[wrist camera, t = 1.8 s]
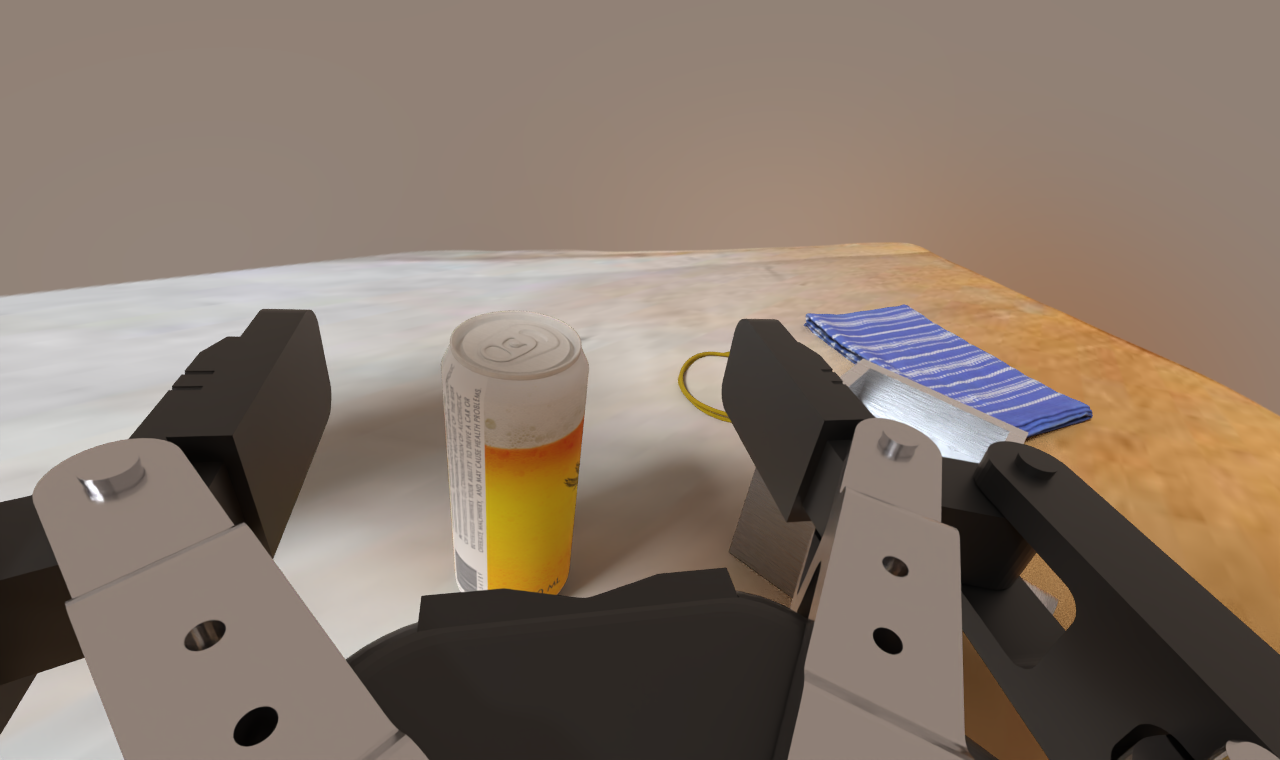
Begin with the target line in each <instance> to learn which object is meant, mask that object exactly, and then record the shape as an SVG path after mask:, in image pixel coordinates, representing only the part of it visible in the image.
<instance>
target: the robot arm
mask: <svg viewBox="0 0 1280 760" xmlns="http://www.w3.org/2000/svg"><path fill="white" fill-rule="evenodd" d="M832 370H833V369H832V368H831V367H830V366H829V365H828V364H827V363H826V362H825V360H824V359H823V358H822V357H821V356H820V355H819V354H817V353H816V352H814V351H813V350H811V349H809V348H808V347H806V346H805V345H803V344H801V343H800V342H797V341H796V340H795V339H794V338H793V336H792V335H791V334H790V333H789V332H788V331H787V329H786V328H785V327H784V326H783V325H782V324H781V322H779V321H778V320H775V319H742V320H740V321H739V323H738V324H737V326H736V329H735V333H734V337H733V341H732V345H731V349H730V353H729V357H728V362H727V366H726V370H725V374H724V378H723V383H722V401H723V406H724V409H725V411H726V413H727V415H728V417H729V419H730V420H731V422H732V424H733V426H734V428H735V430H736V431H737V433H738V435H739V437H740V439H741V441H742V442H743V444H744V446H745V448H746V450H747V452H748V453H749V455H750V457H751V459H752V461H753V463H754V464H755V466H756V468H757V470H758V472H759V473H760V475H761V477H762V479H763V481H764V483H765V484H766V486H767V488H768V490H769V492H770V494H771V495H772V497H773V499H774V501H775V503H776V505H777V506H778V508H779V510H780V512H781V514H782V515H783V517H784V519H785V521H786V523H789V522H803V521H812V522H813V524H814V526H815V528H814V531H813V533H812V535H811V538H810V540H809V544H808V547H807V551H806V554H805V558H804V561H803V564H802V568H801V571H800V575H799V578H798V582H797V585H796V589H795V592H794V596H793V599H792V603H791V606H790V608H787V607H785V606H783V605H781V604H779V603H777V602H774V601H772V600H769V599H766V598H763V597H761V596H757V595H753V594H749V593H745V592H740V591H735V588H734V586H733V583H732V581H731V578H730V576H729V573H728V571H727V568H717V569H707V570H696V571H685V572H674V573H663V574H657V575H654V576H651V577H648V578H645V579H642V580H639V581H637V582H634V583H631V584H628V585H625V586H622V587H619V588H616V589H613V590H610V591H607V592H605V593H602V594H599V595H596V596H592V597H588V598H576V597H568V596H561V595H553V594H545V593H537V592H529V591H521V590H513V589H506V588H501V589H491V590H480V591H469V592H458V593H448V594H437V595H426V596H421V604H420V612H419V620H418V622H417V623H414V624H411V625H408V626H405V627H403V628H400V629H398V630H396V631H394V632H391V633H389V634H387V635H385V636H383V637H381V638H379V639H377V640H375V641H374V642H372V643H370V644H368V645H367V646H365V647H363V648H362V649H360V650H359V651H357V652H356V653H354V654H353V655H351V656H350V657H349V658H347V659H346V660H345V658H344V657H343V656H342V654H341V653H340V652H339V650H338V649H337V647H336V646H335V645H334V643H333V642H332V641H331V639H330V638H329V636H328V635H327V634H326V632H325V631H324V629H323V628H322V627H321V625H320V624H319V623H318V621H317V620H316V618H315V617H314V616H313V614H312V613H311V612H310V610H309V609H308V607H307V606H306V605H305V603H304V602H303V601H302V599H301V598H300V596H299V595H298V594H297V592H296V591H295V589H294V588H293V587H292V585H291V584H290V583H289V581H288V580H287V578H286V577H285V576H284V574H283V573H282V572H281V570H280V569H279V567H278V566H277V565H276V563H275V562H274V561H273V558H274V555H275V553H276V550H277V548H278V545H279V543H280V540H281V538H282V535H283V533H284V530H285V528H286V525H287V523H288V520H289V517H290V515H291V512H292V510H293V507H294V505H295V502H296V500H297V497H298V495H299V492H300V490H301V487H302V485H303V482H304V479H305V477H306V474H307V472H308V469H309V467H310V464H311V462H312V459H313V457H314V454H315V452H316V449H317V447H318V444H319V441H320V439H321V436H322V434H323V431H324V429H325V426H326V424H327V421H328V418H329V415H330V410H331V386H330V380H329V375H328V370H327V365H326V360H325V355H324V350H323V345H322V340H321V335H320V330H319V325H318V321H317V318H316V316H315V314H314V312H313V311H312V310H293V309H262V310H260V311H259V312H258V314H257V315H256V316H255V318H254V319H253V320H252V322H251V323H250V325H249V326H248V327H247V329H246V330H245V331H244V333H243V334H242V335H241V337H226V338H224V339H222V340H221V341H219V342H217V343H215V344H214V345H212V346H210V347H208V348H207V349H205V350H203V351H202V352H200V353H199V354H198V355H197V357H196V358H195V359H194V360H193V362H192V363H191V364H190V365H189V366H188V368H187V369H186V370H185V375H181V376H180V377H179V379H178V380H177V381H176V382H175V383H174V385H173V386H172V390H169V391H168V392H167V393H166V394H165V395H164V397H163V398H162V399H161V400H160V402H159V403H158V404H157V405H156V406H155V408H154V409H153V410H152V411H151V412H150V414H149V415H148V416H147V417H146V419H145V420H144V421H143V422H142V423H141V425H140V426H139V427H138V428H137V429H136V431H135V432H134V433H133V434H132V435H131V437H130V438H129V439H127V440H120V441H115V442H111V443H107V444H103V445H100V446H96V447H94V448H91V449H88V450H85V451H83V452H81V453H78V454H76V455H74V456H72V457H70V458H68V459H66V460H65V461H63V462H61V463H60V464H58V465H57V466H55V467H54V468H52V469H51V470H50V471H49V472H48V473H46V474H45V475H44V476H43V477H42V478H41V480H40V481H39V482H38V483H37V485H36V487H35V489H34V491H33V495H31V496H27V497H23V498H18V499H14V500H9V501H4V502H0V734H1V733H2V731H3V729H4V728H5V726H6V725H7V723H8V721H9V720H10V718H11V716H12V715H13V713H14V711H15V710H16V708H17V706H18V705H19V703H20V701H21V700H22V698H23V696H24V695H25V693H26V691H27V690H28V688H29V686H30V685H31V683H32V681H33V680H34V678H35V676H36V675H37V673H40V672H43V671H46V670H49V669H52V668H55V667H58V666H61V665H64V664H67V663H70V662H73V661H76V660H79V659H82V658H85V659H86V662H87V665H88V667H89V670H90V672H91V675H92V677H93V680H94V683H95V685H96V688H97V690H98V693H99V695H100V698H101V701H102V703H103V706H104V708H105V711H106V713H107V716H108V719H109V721H110V724H111V726H112V729H113V731H114V734H115V737H116V739H117V742H118V744H119V747H120V749H121V752H122V755H123V757H124V760H998V759H997V758H996V757H994V756H993V755H992V754H990V753H989V752H988V751H986V750H985V749H983V748H982V747H981V746H979V745H978V744H977V743H975V742H974V741H973V740H971V739H970V738H969V737H967V736H966V735H965V729H964V688H963V648H962V630H963V631H964V633H965V634H966V636H967V637H968V639H969V640H970V642H971V643H972V645H973V646H974V648H975V649H976V651H977V652H978V654H979V655H980V657H981V658H982V660H983V661H984V663H985V664H986V666H987V667H988V669H989V670H990V672H991V673H992V675H993V676H994V678H995V679H996V681H997V682H998V684H999V685H1000V687H1001V688H1002V690H1003V691H1004V693H1005V694H1006V696H1007V697H1008V699H1009V700H1010V702H1011V703H1012V705H1013V706H1014V708H1015V709H1016V711H1017V712H1018V714H1019V715H1020V717H1021V718H1022V720H1023V721H1024V722H1025V724H1026V725H1027V727H1028V728H1029V730H1030V731H1031V733H1032V734H1033V736H1034V737H1035V739H1036V740H1037V742H1038V743H1039V745H1040V746H1041V748H1042V749H1043V751H1044V752H1045V754H1046V755H1047V757H1048V758H1049V760H1280V655H1279V654H1278V653H1277V652H1276V651H1275V650H1274V649H1273V648H1272V647H1270V646H1269V645H1268V644H1267V643H1266V642H1265V641H1264V640H1262V639H1261V638H1260V637H1259V636H1258V635H1257V634H1256V633H1255V632H1253V631H1252V630H1251V629H1250V628H1249V627H1248V626H1247V625H1246V624H1244V623H1243V622H1242V621H1241V620H1240V619H1239V618H1238V617H1237V616H1235V615H1234V614H1233V613H1232V612H1231V611H1230V610H1229V609H1227V608H1226V607H1225V606H1224V605H1223V604H1222V603H1221V602H1220V601H1218V600H1217V599H1216V598H1215V597H1214V596H1213V595H1212V594H1211V593H1209V592H1208V591H1207V590H1206V589H1205V588H1204V587H1203V586H1202V585H1200V584H1199V583H1198V582H1197V581H1196V580H1195V579H1194V578H1192V577H1191V576H1190V575H1189V574H1188V573H1187V572H1186V571H1185V570H1183V569H1182V568H1181V567H1180V566H1179V565H1178V564H1177V563H1176V562H1174V561H1173V560H1172V559H1171V558H1170V557H1169V556H1168V555H1167V554H1165V553H1164V552H1163V551H1162V550H1161V549H1160V548H1159V547H1157V546H1156V545H1155V544H1154V543H1153V542H1152V541H1151V540H1150V539H1148V538H1147V537H1146V536H1145V535H1144V534H1143V533H1142V532H1141V531H1139V530H1138V529H1137V528H1136V527H1135V526H1134V525H1133V524H1132V523H1130V522H1129V521H1128V520H1127V519H1126V518H1125V517H1124V516H1122V515H1121V514H1120V513H1119V512H1118V511H1117V510H1116V509H1115V508H1113V507H1112V506H1111V505H1110V504H1109V503H1108V502H1107V501H1106V500H1104V499H1103V498H1102V497H1101V496H1100V495H1099V494H1098V493H1097V492H1095V491H1094V490H1093V489H1092V488H1091V487H1090V486H1089V485H1087V484H1086V483H1085V482H1084V481H1083V480H1082V479H1081V478H1080V477H1078V476H1077V475H1076V474H1075V473H1074V472H1073V471H1072V470H1071V469H1069V468H1068V467H1067V466H1066V465H1065V464H1063V463H1062V462H1060V461H1059V460H1058V459H1056V458H1054V457H1053V456H1051V455H1049V454H1047V453H1045V452H1043V451H1041V450H1039V449H1036V448H1034V447H1031V446H1028V445H1025V444H1021V443H1017V442H1010V441H999V442H995V443H993V444H991V445H990V446H989V447H988V449H987V451H986V452H985V454H984V456H983V458H982V459H981V461H980V463H974V462H969V461H964V460H958V459H953V458H947V457H942V455H941V452H940V450H939V448H938V447H937V445H936V444H935V443H934V442H933V441H932V440H931V439H930V438H929V437H928V436H926V435H925V434H923V433H922V432H920V431H919V430H917V429H915V428H913V427H911V426H909V425H907V424H904V423H901V422H898V421H895V420H891V419H885V418H876V417H875V416H874V415H873V414H872V413H871V412H870V411H869V410H868V409H867V407H866V406H865V405H864V404H863V403H862V402H861V401H860V400H859V398H858V397H857V396H856V395H855V394H854V393H853V392H852V391H851V390H850V388H849V387H848V386H847V385H846V384H843V381H842V379H841V378H840V377H839V376H838V375H837V374H836V373H835V372H832ZM1036 553H1038V554H1039V555H1040V557H1041V558H1042V559H1043V560H1044V561H1045V562H1046V563H1047V564H1048V566H1049V567H1050V568H1051V569H1052V570H1053V571H1054V572H1055V573H1056V574H1057V576H1058V577H1059V578H1060V579H1061V580H1062V581H1063V582H1064V583H1065V584H1066V586H1067V587H1068V588H1069V590H1070V591H1071V593H1072V595H1073V597H1074V600H1075V604H1076V617H1075V620H1074V622H1073V623H1072V625H1071V626H1070V627H1069V628H1068V629H1067V630H1066V631H1065V630H1064V628H1063V627H1062V626H1061V625H1060V624H1059V622H1058V621H1057V620H1056V619H1055V618H1054V616H1053V615H1052V614H1051V613H1050V612H1049V610H1048V609H1047V608H1046V607H1045V606H1044V604H1043V603H1042V602H1041V601H1040V600H1039V598H1038V597H1037V596H1036V595H1035V594H1034V592H1033V591H1032V590H1031V589H1030V588H1029V586H1028V585H1027V584H1026V583H1025V582H1024V580H1023V579H1022V578H1021V577H1020V574H1021V573H1022V572H1023V570H1024V569H1025V567H1026V566H1027V565H1028V563H1029V562H1030V561H1031V559H1032V558H1033V557H1034V555H1035V554H1036Z"/></svg>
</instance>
